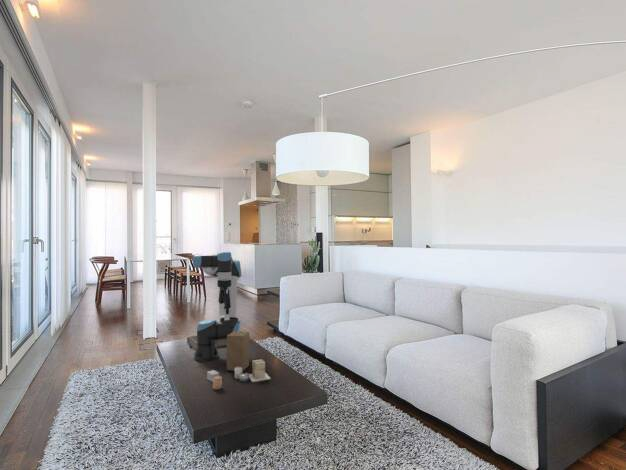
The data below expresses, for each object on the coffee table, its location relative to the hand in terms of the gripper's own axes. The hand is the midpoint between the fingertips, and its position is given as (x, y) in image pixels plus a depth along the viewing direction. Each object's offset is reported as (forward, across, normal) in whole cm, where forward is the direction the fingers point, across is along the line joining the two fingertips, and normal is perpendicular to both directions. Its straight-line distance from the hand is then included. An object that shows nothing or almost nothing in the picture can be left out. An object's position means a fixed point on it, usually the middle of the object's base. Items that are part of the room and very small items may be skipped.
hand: (224, 317), depth 202 cm
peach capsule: (+31, +19, -8) cm, 37 cm away
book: (+33, -62, +5) cm, 71 cm away
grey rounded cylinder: (+31, +9, +6) cm, 33 cm away
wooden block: (+31, -5, +9) cm, 33 cm away
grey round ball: (+31, +14, +8) cm, 35 cm away
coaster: (+31, +14, +16) cm, 38 cm away
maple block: (+30, +14, +16) cm, 37 cm away
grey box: (+31, +7, -7) cm, 33 cm away
